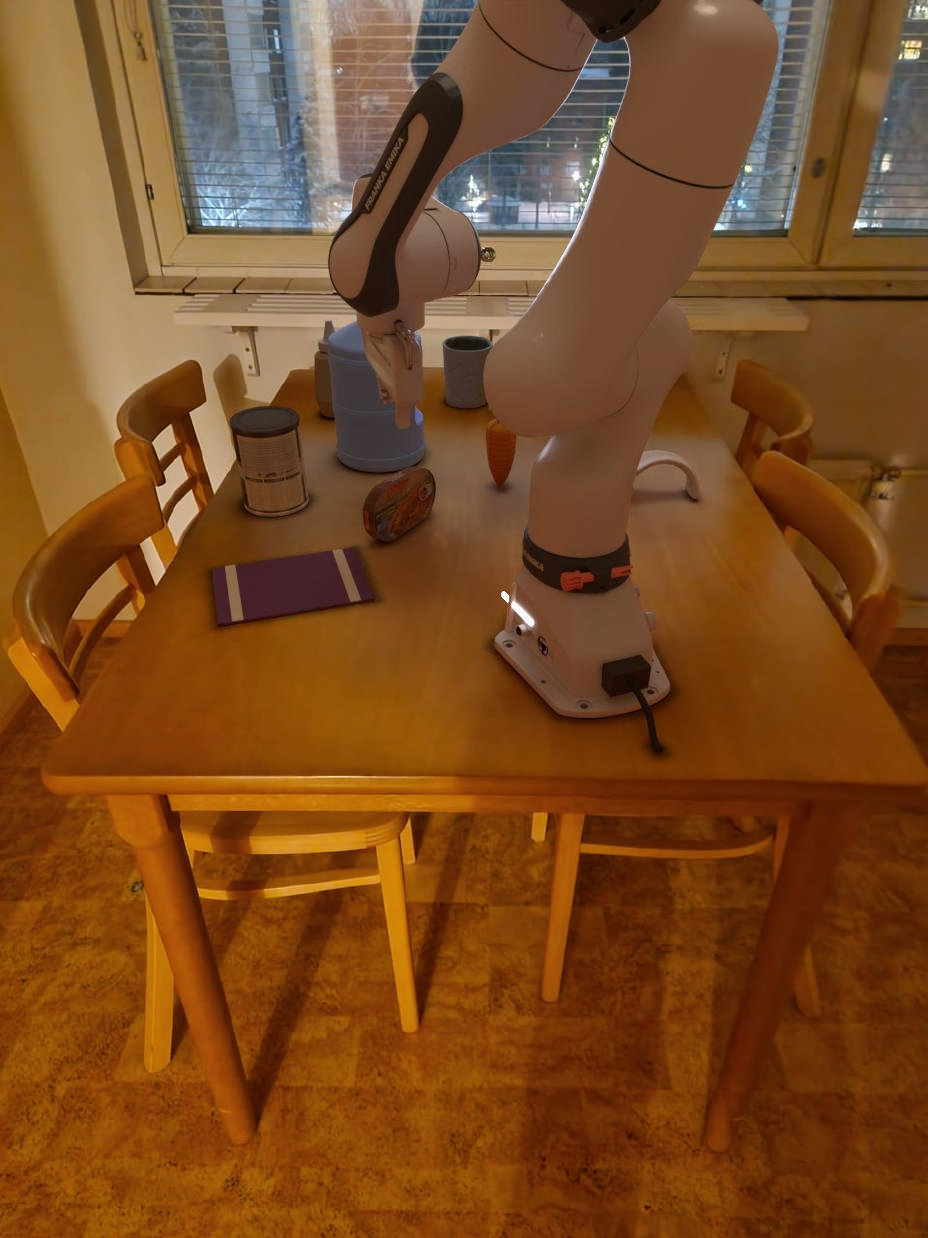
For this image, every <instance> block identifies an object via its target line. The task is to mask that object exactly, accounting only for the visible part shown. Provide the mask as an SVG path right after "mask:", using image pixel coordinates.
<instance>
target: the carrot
mask: <svg viewBox="0 0 928 1238" xmlns="http://www.w3.org/2000/svg"><path fill="white" fill-rule="evenodd" d="M488 412H491V413H492V411H491V409H490V407H489V406H488ZM517 436H518V435H515V434H513V433H511V432H510V431H508V430H507V429H506V428H505V427H503V426H502V425H501V423H500V422H499V421H498V420H497V419H496V418H493V419H492V420H490V421H488V423H486V426H485V444H486V445H485V446H486V447H485V448H486V457H487V461H488V468H489V471H490V473H491V476H492V478H493V480H494V482H495V485H496V486H497V487H498V488H501V487H502V486H503V485H505V483H506V481H507V479H508V478H509V475H510V473H511V471H512V467H513V464H514V460H515V454H516V447H517Z"/></svg>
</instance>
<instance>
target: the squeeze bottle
mask: <svg viewBox="0 0 928 1238" xmlns="http://www.w3.org/2000/svg"><path fill="white" fill-rule="evenodd" d="M335 331H336V330H335V327H334V323H333V320H332V319H325V320H324V328H323V337H321V338H319V339H318V341H317V347H318V350H317V351H316V352H315V353H314V358H313V359H314V363H313V364H314V368H313V369H314V400H315V401H316V404H317V406H318V408H319V410H320V412H321V415H322V416H323V417H326V418H331V419H335V417H334V413H333V405H332V397H333V395H332V385H331V374H330V366H329V362H328V338H329V336H330V335H331V334H332V333H333V332H335Z"/></svg>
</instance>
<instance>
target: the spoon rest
mask: <svg viewBox="0 0 928 1238" xmlns="http://www.w3.org/2000/svg"><path fill="white" fill-rule="evenodd" d="M664 464H665V465H671V466H674V467H676V468H678V469H680V470H681V471H683V472H684V474H685V479H686V480H685V489H686V492H687V494H688V495H689V497H690V498H692V499H695V500H698V499H699V496H700V484H699V480H698V477H697V475H696V473H695V472H694V470H693V469H692V467H691V464H690V463H689V461H688V460H686V458H684V457H682V456H681V455H679V454H678V453H674V452H671V451H667V450H660V449H659V450H657V449H654V450H646V451H645V450H644V451H643V454H642V456H641V459H640V462H639V465H638V468H637V472H636V475H635V478H636V477H637V476H639V475H640V474H642V473H643V472H644V471H646V470H648V469H649V468H651V467H654V466H658V465H664Z"/></svg>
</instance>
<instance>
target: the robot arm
mask: <svg viewBox="0 0 928 1238" xmlns="http://www.w3.org/2000/svg"><path fill="white" fill-rule="evenodd" d="M763 1H764V0H477V1H476V3H475V6H474V8H473V10H472V13H471V15H470V17H469V19H468V21H467V22H466V24H465V26H464V27H463V30H462V31H461V33H460V35H459V36H458V38H457V40H456V41H455V43H454V44H453V46H452V48H451V49H450V51H449V52H448V53H447V55H446V56H445V58H444V59H443V60H442V62H440V64H439V66H438V67H437V68H436V69H435V71H433V73H432V74H431V75H430V76H428V77H427V78H426V80H425V81H423V83H422V84H421V85H420V86H419V87H418V89H417V90H416V91H415V92H414V94H413V95H412V97H411V98H410V100H409V102H408V103H407V105H406V107H405V109H404V110H403V112H402V114H401V115H400V118H399V119H398V121H397V124H396V126H395V127H394V130H393V131H392V133H391V136H390V137H389V139H388V141H387V144H386V146H385V147H384V150H383V151H382V154H381V156H380V157H379V160H378V162H377V164H376V166H375V168H374V170H373V171H372V172H367V173H364V174H362V175H360V176H359V177H358V178H356V180H355V181H354V184H353V188H352V194H351V209H350V213H349V214H348V215H347V216H346V217H345V218H344V219H343V220H342V222H341V223H340V225H339V227H338V228H337V230H336V231H335V234H334V236H333V238H332V240H331V244H330V247H329V250H328V256H327V257H328V258H327V267H328V269H327V270H328V275H329V279H330V282H331V285H332V287H333V288H334V291H335V292H336V294H337V295H338V296H339V298H340V299H342V301H343V302H344V303H346V305H348V307H350V308H352V309H353V310H354V311H355V313H356V320H357V325H358V327H359V328H360V329H361V330H362V338H363V345H364V350H365V355H366V358H367V361H368V362H369V363H370V365H371V366H372V368H373V369H374V371H375V373H376V377H377V381H378V386H379V393H380V400H381V401H382V403H383V404H392V403H393V402H394V401H395V404H396V413H395V423H396V425H397V427H398V428H399V429H407V428H409V427H410V415H411V411H412V407H413V405H415V406H416V405H421V404H422V403H423V402H424V398H425V381H424V380H425V379H424V365H423V364H424V363H423V359H422V354H423V353H422V354H421V348H420V345H419V343H418V342H417V341H416V339H415V337H416V334H415V331H416V332H417V331H419V330H421V329H422V328H423V327H425V324H426V316H425V315H426V311H425V307H426V306H425V303H430V302H434V301H436V300H443V299H445V298H446V299H447V298H450V297H454V296H458V295H460V294H462V293H465V292H467V291H468V290H470V289H471V288H472V286H473V285H474V283H475V282H476V280H477V278H478V275H479V274H480V270H481V264H482V244H481V241H480V236H479V233H478V231H477V228H476V227H475V225H474V223H473V222H472V221H471V219H470V218H469V217H468V216H467V215H466V214H465V213H463V212H462V211H460V210H457V209H452V208H450V207H449V206H447V205H446V204H444V203H442V202H441V201H439V200H438V199H436V198H435V197H434V196H433V194H434V193H435V191H436V189H437V188H438V186H439V185H440V184H441V182H442V181H443V180H444V179H445V178H446V177H447V176H448V175H449V174H450V173H451V172H453V171H454V170H455V169H457V168H458V167H460V166H461V165H463V164H464V163H466V162H467V161H470V160H473V158H475V157H478V156H480V155H482V154H484V153H486V152H489V151H491V150H493V149H496V148H498V147H502V146H503V145H504V146H505V145H506V144H509V143H513V142H515V141H518V140H521V139H523V138H527V137H528V136H530V135H532V134H534V133H536V132H537V131H539V130H541V129H542V128H544V127H545V126H546V125H547V124H548V123H549V122H550V120H552V118H553V117H554V116H555V115H556V114H557V113H558V111H559V110H560V109H561V107H562V106H563V104H564V103H565V102H566V101H567V99H568V98H569V96H570V95H571V93H572V91H573V90H574V87H575V85H576V84H577V82H578V80H579V78H580V76H581V75H582V72H583V70H584V68H585V66H586V64H587V62H588V60H589V58H590V56H591V54H592V52H593V50H594V48H595V47H596V44H597V43H598V41H599V42H600V43H602V44H609V43H613V42H617V41H619V40H621V39H624V41H625V44H626V47H627V50H628V51H627V52H628V57H629V73H628V78H627V82H626V86H625V89H624V90H625V91H624V93H623V96H622V99H621V102H620V105H619V108H618V111H617V113H616V117H615V119H614V121H613V125H612V127H611V131H610V134H609V135H608V139H607V142H606V145H605V147H604V151H603V153H602V156H601V160H600V163H599V166H598V168H597V172H596V175H595V177H594V180H593V184H592V186H591V189H590V192H589V195H588V197H587V200H586V203H585V206H584V209H583V211H582V214H581V216H580V220H579V222H578V224H577V226H576V229H575V231H574V233H573V235H572V237H571V239H570V240H569V243H568V245H567V247H566V248H565V250H564V252H563V253H562V256H561V257H560V258H559V260H558V262H557V264H556V265H555V266H554V268H553V270H552V271H551V273H550V274H549V276H548V278H547V280H546V281H545V283H544V284H543V286H542V287H541V289H540V291H539V292H538V293H537V295H536V297H535V298H534V300H533V301H532V303H531V304H530V305H529V307H527V310H526V311H525V312H524V314H523V315H522V316H520V318H519V320H517V321H516V323H514V325H513V326H512V327H511V328H510V329H509V330H508V331H507V332H506V333H504V335H503V336H502V337H501V338H499V339H498V340H497V341H496V342H495V343H493V347H492V348H491V349H490V351H489V353H488V355H487V358H486V361H485V365H484V373H483V385H484V392H485V396H486V399H487V402H486V403H487V405H488V408H489V407H490V409H491V411H492V412H491V411H490V412H491V413H492V415H493V416H494V418H495V419H497V420H498V421H499V422H500V423H501V425H502V426H503V427H505V428H506V429H507V430H508V431H510V432H511V433H513V434H515V435H517V436H518V437H522V438H540V437H550V438H549V440H548V441H547V443H546V444H545V446H544V447H543V448H542V449H541V450H540V452H539V453H538V455H537V456H536V458H535V460H534V463H533V465H532V468H531V471H530V482H529V499H528V501H529V502H528V521H527V525H526V526H525V527H524V532H523V537H522V541H521V552H522V553H521V561H522V563H523V564H522V566H521V568H520V571H519V572H518V573H517V575H516V577H515V578H514V580H513V581H512V582H511V584H510V587H509V593H508V594H507V593H506V592H505V591H502V592H501V597H502V599H504V600H505V602H507V609H506V617H505V624H504V625H505V626H504V629H503V630H501V631H500V632H498V633H497V634H496V636H495V637H494V641H493V647H494V649H495V650H496V651H497V652H498V653H499V655H501V656H502V657H503V659H504V660H505V661H506V662H507V663H508V664H509V665H510V666H511V667H512V668H513V669H514V670H515V671H516V672H517V674H518V675H519V676H521V677H522V679H523V680H524V681H525V682H526V683H527V684H528V685H529V686H530V687H531V689H533V690H534V691H535V692H536V693H537V694H538V696H540V698H541V699H542V700H543V701H544V702H545V703H546V704H547V705H548V706H549V707H550V708H551V709H552V710H553V711H554V712H555V713H556V714H558V715H560V716H563V717H568V718H578V719H594V718H595V719H597V718H598V719H599V718H606V717H613V716H619V715H623V714H628V713H630V712H635V711H638V710H642V712H643V715H644V717H645V720H646V724H647V731H648V737H649V740H650V743H651V746H652V748H653V749H654V750H655V751H656V752H657V753H658V754H659V753H663V751H664V750H665V748H664V746H663V745H662V744H661V743H660V740H659V738H658V734H657V727H656V721H655V717H654V714H653V712H652V710H651V707H650V706H652V705H655V704H656V703H658V702H661V701H662V700H663V699H664V698H666V696H667V695H668V694H669V693H670V692H671V683H670V680H669V678H668V676H667V674H666V672H665V670H664V667H663V666H662V663H661V661H660V660H659V657H658V656H657V654H656V652H655V650H654V642H653V636H652V633H651V632H654V631H655V630H656V629H657V616H656V614H655V612H654V611H644V610H643V607H642V605H641V601H640V599H639V598H640V597H641V589H640V586H637V585H634V583H633V580H632V579H631V575H633V572H632V569H633V568H634V566H633V564H632V565H631V556H632V555H631V547H630V541H629V540H630V539H629V535H628V533H627V529H628V524H629V523H628V522H629V514H630V510H631V502H632V496H633V490H634V483H635V480H636V477H635V475H636V472H637V468H638V465H639V462H640V459H641V456H642V454H643V452H645V448H646V446H647V443H648V441H649V438H650V436H651V433H652V431H653V428H654V425H655V423H656V421H657V419H658V416H659V413H660V411H661V409H662V407H663V405H664V402H665V400H666V398H667V396H668V394H669V393H670V391H671V389H672V388H673V387H674V385H675V383H677V381H678V379H679V378H680V377H681V376H682V375H683V373H684V372H685V371H686V369H687V367H688V365H689V363H690V360H691V357H692V352H693V344H694V343H693V342H694V341H693V333H692V328H691V325H690V322H689V319H688V318H687V316H686V314H685V312H684V311H683V310H682V309H681V308H680V307H679V305H678V304H676V302H674V301H672V299H671V298H672V297H673V296H674V295H675V294H676V293H677V291H678V290H680V289H681V288H682V287H683V286H684V285H685V284H686V283H687V282H688V281H689V279H690V278H691V276H692V275H693V274H694V272H695V271H696V269H697V267H698V265H699V263H700V261H701V258H702V257H703V254H704V252H705V250H706V249H707V248H706V247H707V245H708V244H709V241H710V239H711V236H712V235H713V232H714V230H715V228H716V226H717V223H718V222H719V219H720V217H721V215H722V212H723V210H724V208H725V206H726V203H727V201H728V199H729V197H730V195H731V193H732V190H733V189H734V186H735V184H736V181H737V179H738V177H739V175H740V173H741V170H742V168H743V165H744V163H745V161H746V158H747V155H748V153H749V150H750V148H751V146H752V143H753V141H754V138H755V134H756V132H757V129H758V126H759V123H760V120H761V117H762V114H763V111H764V108H765V105H766V101H767V98H768V95H769V92H770V88H771V86H772V85H771V84H772V81H773V77H774V73H775V70H776V66H777V63H778V59H779V58H778V57H779V47H780V44H779V36H778V32H777V29H776V26H775V24H774V22H773V21H772V19H771V18H770V16H769V15H768V14H767V12H766V11H765V10H764V9H763V8H762V6H761V4H762V3H763Z"/></svg>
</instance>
